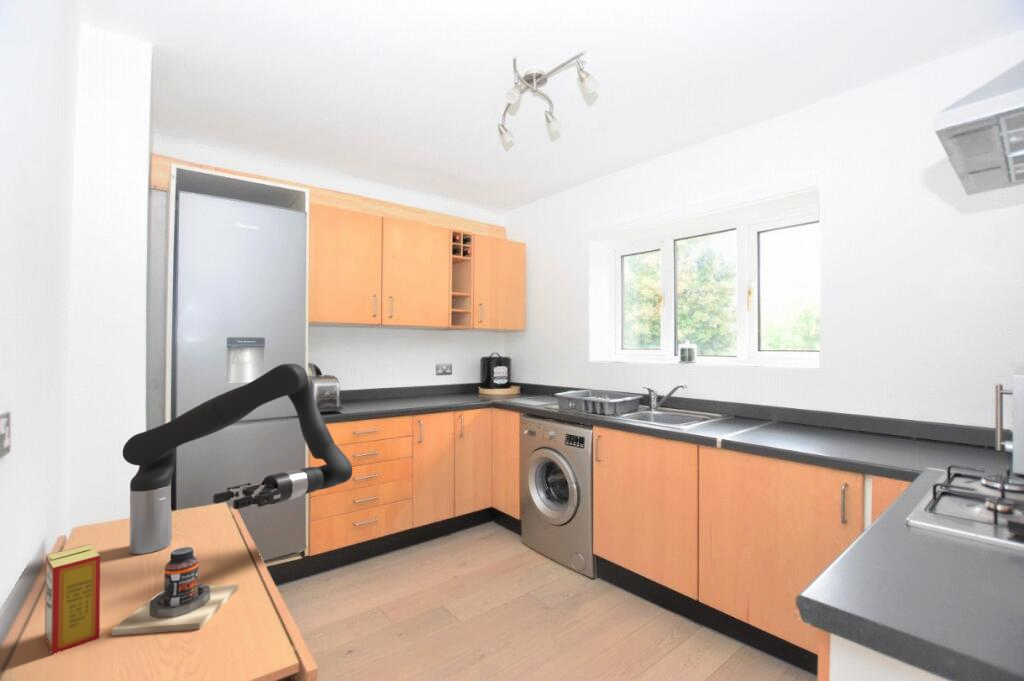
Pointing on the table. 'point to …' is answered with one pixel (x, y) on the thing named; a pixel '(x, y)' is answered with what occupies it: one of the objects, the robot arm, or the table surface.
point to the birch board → (191, 621)
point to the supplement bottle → (181, 577)
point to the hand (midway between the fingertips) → (223, 502)
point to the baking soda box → (72, 597)
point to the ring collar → (180, 609)
